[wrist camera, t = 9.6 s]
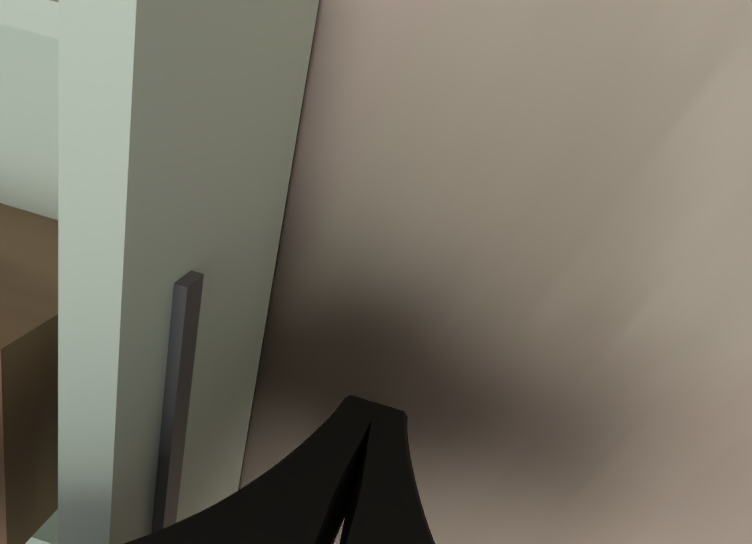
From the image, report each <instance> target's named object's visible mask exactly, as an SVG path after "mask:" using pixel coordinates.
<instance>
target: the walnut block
mask: <svg viewBox="0 0 752 544" xmlns="http://www.w3.org/2000/svg"><path fill="white" fill-rule="evenodd" d="M57 509H58V220H55V219H52V218H48V217H45V216H42V215H39V214H35V213H32V212H29V211H25V210H22V209H19V208H15V207H12V206H9V205H5V204H2V203H0V544H25V543H26V542H27V541H28V540H29V539H30V538H31V537H32V536H33V535H34V534H35V533H36V532H37V531H38V529H39V528H40V527H41V526H42V525H43V524H44V523H45V522H46V521H47V520H48V519H49V518H50V517H51V516H52V514H53V513H54V512H55V511H56V510H57Z"/></svg>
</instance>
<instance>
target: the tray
mask: <svg viewBox="0 0 752 544" xmlns="http://www.w3.org/2000/svg"><path fill="white" fill-rule="evenodd" d="M318 5H319V0H0V203H2V204H5V205H9V206H12V207H15V208H19V209H22V210H25V211H29V212H32V213H35V214H39V215H42V216H45V217H48V218H52V219H55V220H58V509H57V510H56V511H55V512H54V513H53V514H52V516H51V517H50V518H49V519H48V520H47V521H46V522H45V523H44V524H43V525H42V526H41V527H40V528H39V529H38V531H37V532H36V533H35V534H34V535H33V536H32V537H31V538H30V539H29V540H28V541H27V542H26V543H25V544H124V543H126V542H129V541H132V540H135V539H138V538H141V537H143V536H146V535H149V534H152V533H154V532H157V531H159V530H161V529H164V528H166V527H168V526H170V525H172V524H175V523H177V522H179V521H181V520H183V519H186V518H188V517H190V516H192V515H194V514H196V513H199V512H201V511H203V510H205V509H207V508H208V507H210V506H212V505H214V504H216V503H218V502H219V501H221V500H223V499H225V498H226V497H228V496H230V495H231V494H233V493H235V492H237V491H238V487H239V481H240V475H241V469H242V463H243V457H244V451H245V445H246V439H247V433H248V427H249V420H250V414H251V408H252V402H253V396H254V390H255V384H256V378H257V372H258V366H259V360H260V354H261V348H262V342H263V336H264V330H265V324H266V318H267V312H268V306H269V300H270V294H271V288H272V282H273V276H274V270H275V264H276V258H277V252H278V246H279V240H280V234H281V228H282V222H283V216H284V210H285V203H286V197H287V191H288V185H289V179H290V173H291V167H292V161H293V155H294V149H295V143H296V137H297V131H298V125H299V119H300V113H301V107H302V101H303V95H304V89H305V83H306V77H307V71H308V65H309V59H310V53H311V47H312V41H313V35H314V29H315V23H316V17H317V11H318Z"/></svg>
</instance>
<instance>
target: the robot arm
mask: <svg viewBox="0 0 752 544" xmlns="http://www.w3.org/2000/svg"><path fill="white" fill-rule="evenodd" d="M344 517H345V519H344ZM343 520H344V524H343V529H342V534H341V539H340V544H435V543H434V540H433V537H432V535H431V532H430V529H429V526H428V523H427V520H426V517H425V514H424V511H423V507H422V504H421V501H420V497H419V493H418V490H417V486H416V481H415V477H414V472H413V468H412V463H411V457H410V451H409V444H408V435H407V416H406V414H405V412H404V411H401V410H398V409H395V408H391V407H388V406H385V405H381V404H378V403H375V402H372V401H368V400H365V399H362V398H358V397H355V396H352V395H351V396H348V397H346V398H345V399H344V400H343V402H342V403H341V404H340V406H339V407H338V408H337V409H336V411H335V412H334V413H333V414H332V415H331V416H330V417H329V418H328V419H327V420H326V421H325V422H324V423H323V424H322V425H321V427H319V428H318V429H317V430H316V431H315V432H314V433H313V434H312V435H311V436H310V437H309V438H308V439H307V440H306V441H304V442H303V443H302V444H301V445H300V446H299V447H298V448H296V449H295V450H294V451H293V452H291V453H290V454H289V455H288V456H286V457H285V458H284V459H283V460H282V461H280V462H279V463H278V464H277V465H275V466H274V467H273V468H271V469H270V470H268V471H267V472H266V473H264V474H263V475H261V476H260V477H259V478H257V479H256V480H254V481H252V482H251V483H249V484H248V485H246V486H245V487H243V488H242V489H240V490H238V491H237V492H235V493H233V494H231V495H230V496H228V497H226V498H225V499H223V500H221V501H219V502H218V503H216V504H214V505H212V506H210V507H208V508H207V509H205V510H203V511H201V512H199V513H196V514H194V515H192V516H190V517H188V518H186V519H183V520H181V521H179V522H177V523H175V524H172V525H170V526H168V527H166V528H164V529H161V530H159V531H157V532H154V533H152V534H149V535H146V536H143V537H141V538H138V539H135V540H132V541H129V542H126V543H124V544H334V541H335V539H336V536H337V534H338V532H339V529H340V527H341V524H342V522H343Z"/></svg>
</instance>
